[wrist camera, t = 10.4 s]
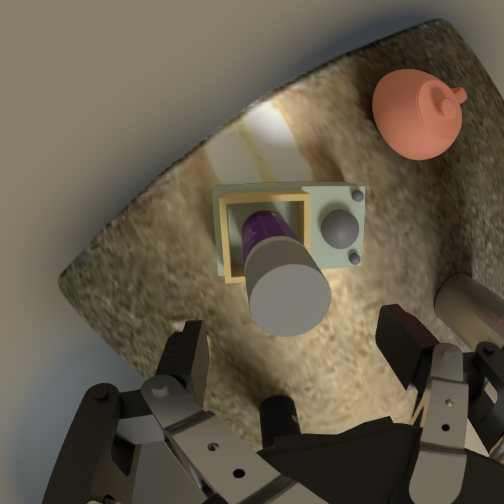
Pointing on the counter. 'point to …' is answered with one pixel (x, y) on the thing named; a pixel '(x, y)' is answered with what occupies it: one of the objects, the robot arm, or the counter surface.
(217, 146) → the counter surface
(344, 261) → the grey-green box with tray
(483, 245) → the counter surface
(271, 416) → the wine bottle
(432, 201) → the counter surface
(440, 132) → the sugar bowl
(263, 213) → the container
